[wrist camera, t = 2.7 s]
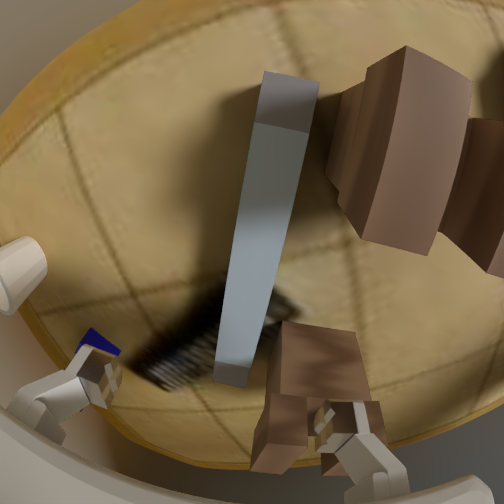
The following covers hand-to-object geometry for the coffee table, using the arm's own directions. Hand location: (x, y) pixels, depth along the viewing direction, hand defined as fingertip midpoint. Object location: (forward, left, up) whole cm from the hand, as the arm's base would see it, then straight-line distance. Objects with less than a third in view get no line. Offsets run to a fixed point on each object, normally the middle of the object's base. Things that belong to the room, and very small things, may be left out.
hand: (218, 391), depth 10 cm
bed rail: (0, 0, -13) cm, 13 cm away
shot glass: (+25, +7, -14) cm, 29 cm away
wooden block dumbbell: (-7, 0, -13) cm, 15 cm away
